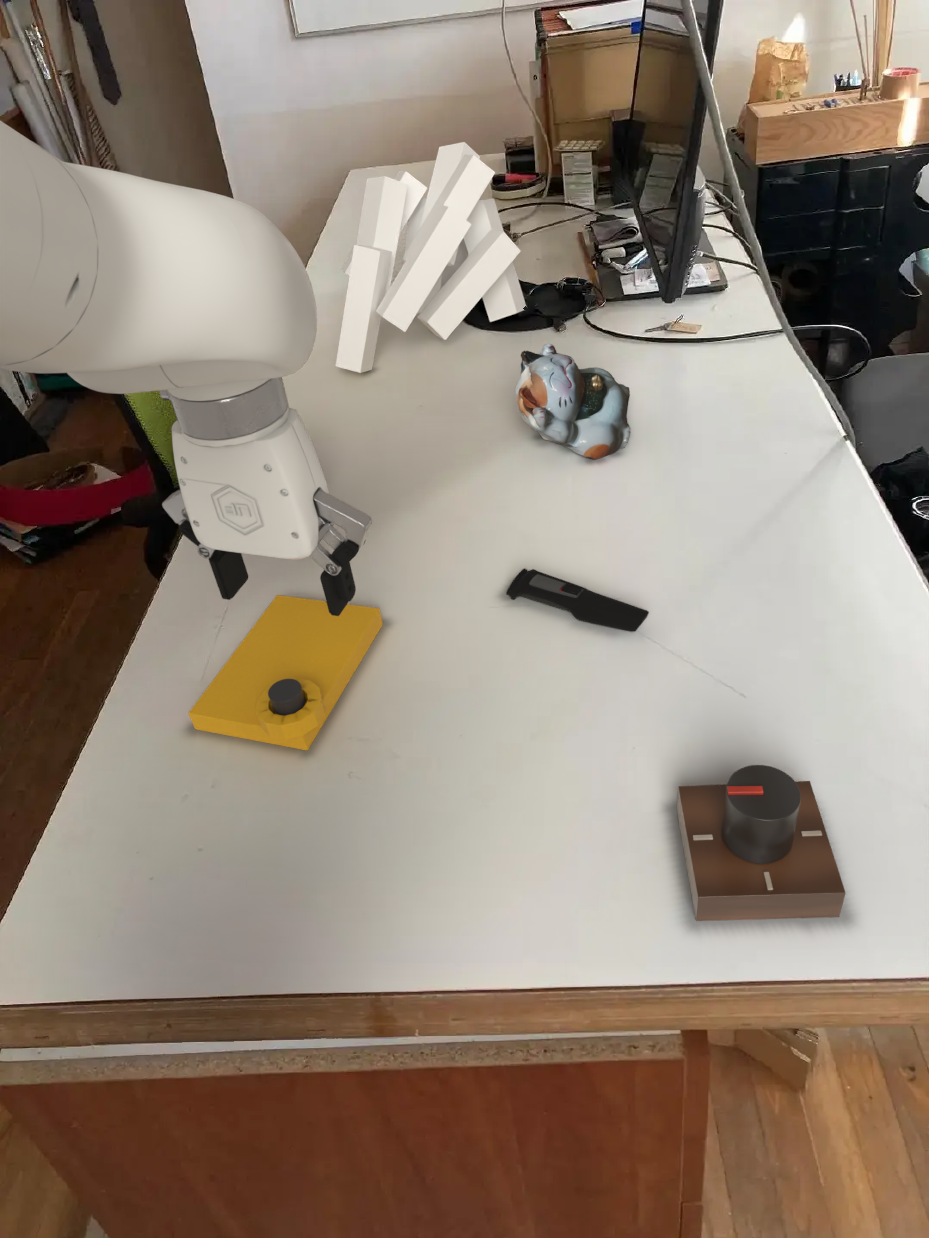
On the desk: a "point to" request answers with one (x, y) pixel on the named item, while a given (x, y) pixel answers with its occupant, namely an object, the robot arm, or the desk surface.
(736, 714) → the desk surface
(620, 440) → the lucky cat figurine
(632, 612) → the electric trimmer
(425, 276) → the pile of blocks
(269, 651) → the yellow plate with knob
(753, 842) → the dial knob
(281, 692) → the black cylindrical knob
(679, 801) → the dial panel
